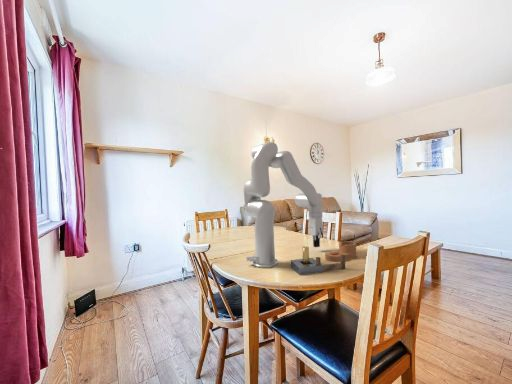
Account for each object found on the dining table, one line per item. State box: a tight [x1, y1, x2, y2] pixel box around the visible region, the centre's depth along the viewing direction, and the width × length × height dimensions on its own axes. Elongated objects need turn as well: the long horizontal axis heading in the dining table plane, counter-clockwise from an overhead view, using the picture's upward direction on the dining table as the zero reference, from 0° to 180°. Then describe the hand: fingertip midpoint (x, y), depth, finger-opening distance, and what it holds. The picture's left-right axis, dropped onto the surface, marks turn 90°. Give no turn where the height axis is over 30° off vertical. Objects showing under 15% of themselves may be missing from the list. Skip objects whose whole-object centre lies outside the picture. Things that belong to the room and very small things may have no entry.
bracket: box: [324, 240, 357, 263], centre depth 120 cm, size 18×8×7 cm, turn 115°
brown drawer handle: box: [315, 254, 347, 272], centre depth 104 cm, size 14×2×6 cm, turn 101°
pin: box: [302, 246, 310, 265], centre depth 106 cm, size 3×3×10 cm
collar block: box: [290, 257, 324, 276], centre depth 106 cm, size 11×11×3 cm
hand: (316, 246), depth 133 cm, fingers closed
